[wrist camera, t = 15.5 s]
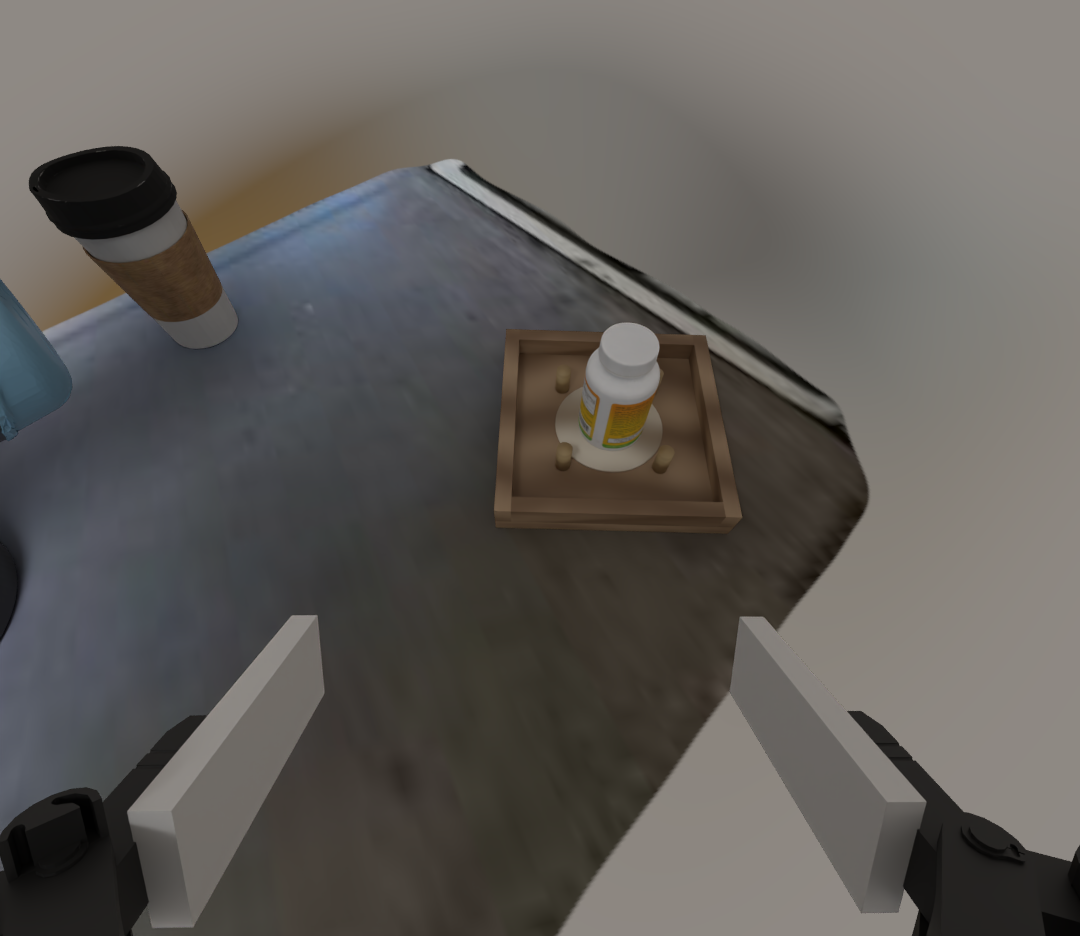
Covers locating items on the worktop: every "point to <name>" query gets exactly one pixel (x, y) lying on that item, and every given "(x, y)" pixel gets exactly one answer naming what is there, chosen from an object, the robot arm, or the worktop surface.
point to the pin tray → (611, 476)
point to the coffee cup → (138, 238)
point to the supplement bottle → (619, 387)
